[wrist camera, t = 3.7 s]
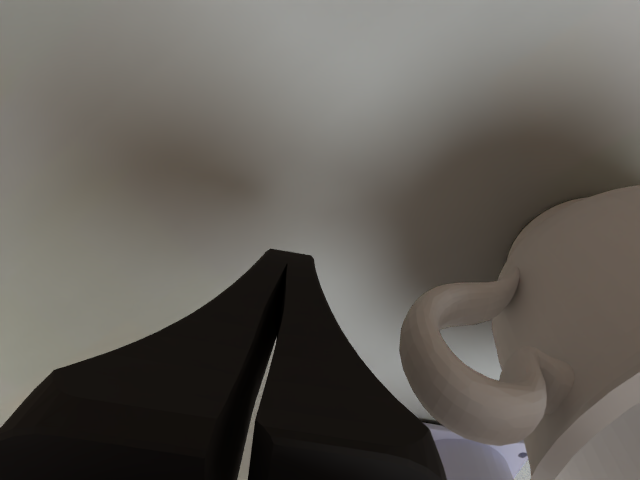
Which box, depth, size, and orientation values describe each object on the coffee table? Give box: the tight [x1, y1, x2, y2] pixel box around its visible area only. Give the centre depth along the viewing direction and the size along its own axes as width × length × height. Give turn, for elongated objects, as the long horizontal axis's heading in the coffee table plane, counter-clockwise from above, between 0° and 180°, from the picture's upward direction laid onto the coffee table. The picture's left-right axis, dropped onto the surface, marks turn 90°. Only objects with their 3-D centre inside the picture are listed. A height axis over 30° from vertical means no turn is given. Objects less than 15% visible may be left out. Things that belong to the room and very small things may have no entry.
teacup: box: [399, 185, 640, 480], centre depth 12 cm, size 12×15×10 cm
